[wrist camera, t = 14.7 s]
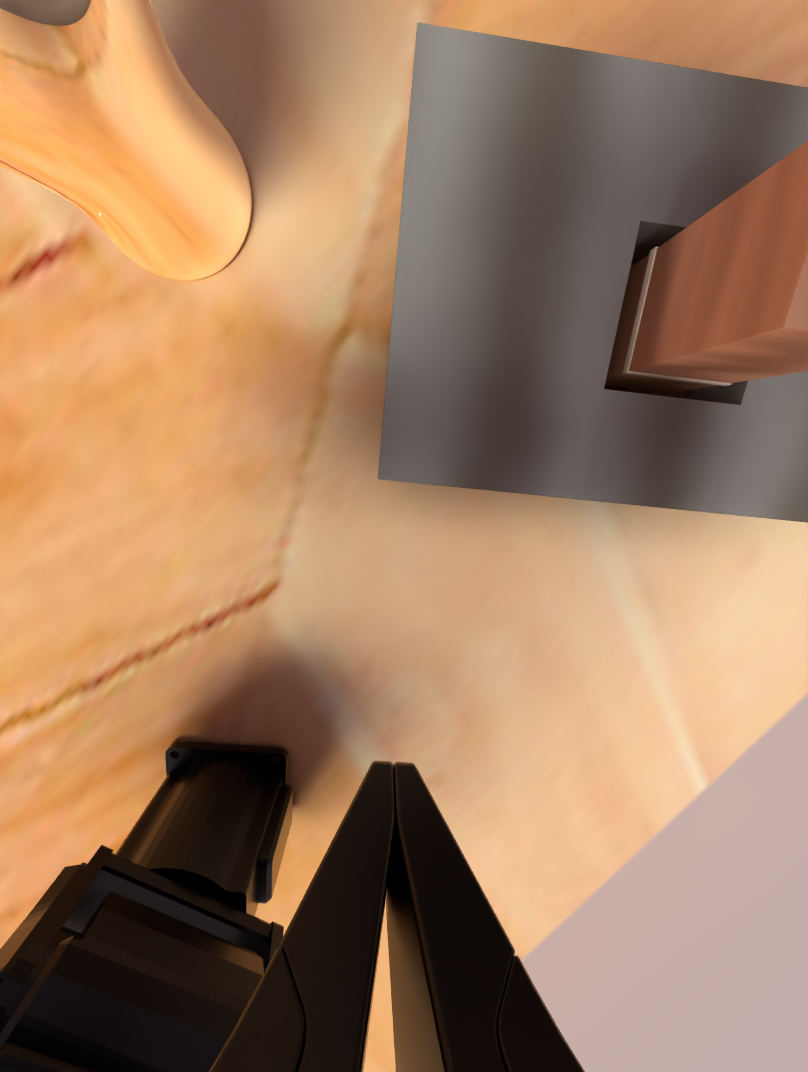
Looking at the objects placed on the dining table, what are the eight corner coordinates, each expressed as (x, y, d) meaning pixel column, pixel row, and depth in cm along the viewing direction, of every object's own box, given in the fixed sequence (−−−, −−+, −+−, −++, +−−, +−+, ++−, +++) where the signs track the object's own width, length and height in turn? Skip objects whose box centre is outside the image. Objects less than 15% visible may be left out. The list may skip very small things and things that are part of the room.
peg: (585, 384, 17) (780, 329, 9) (607, 282, 16) (851, 105, 8) (672, 394, 18) (946, 351, 9) (698, 294, 17) (1034, 136, 8)
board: (380, 472, 18) (377, 479, 15) (412, 104, 15) (417, 22, 12) (816, 516, 19) (891, 531, 16) (939, 186, 16) (1062, 130, 13)
